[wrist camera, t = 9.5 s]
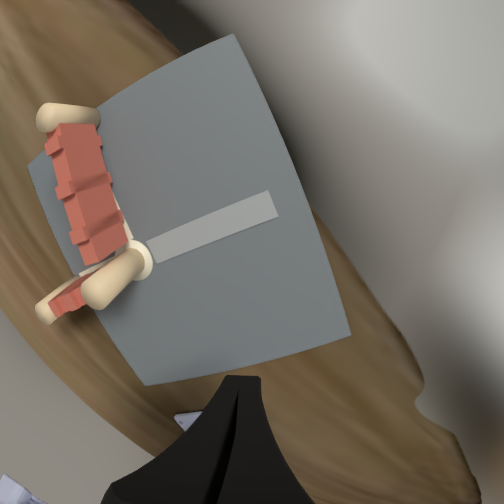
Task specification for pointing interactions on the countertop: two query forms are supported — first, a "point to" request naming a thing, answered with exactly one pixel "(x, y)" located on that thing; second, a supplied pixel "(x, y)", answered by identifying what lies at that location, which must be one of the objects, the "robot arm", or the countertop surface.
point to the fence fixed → (92, 287)
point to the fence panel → (82, 179)
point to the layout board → (205, 224)
